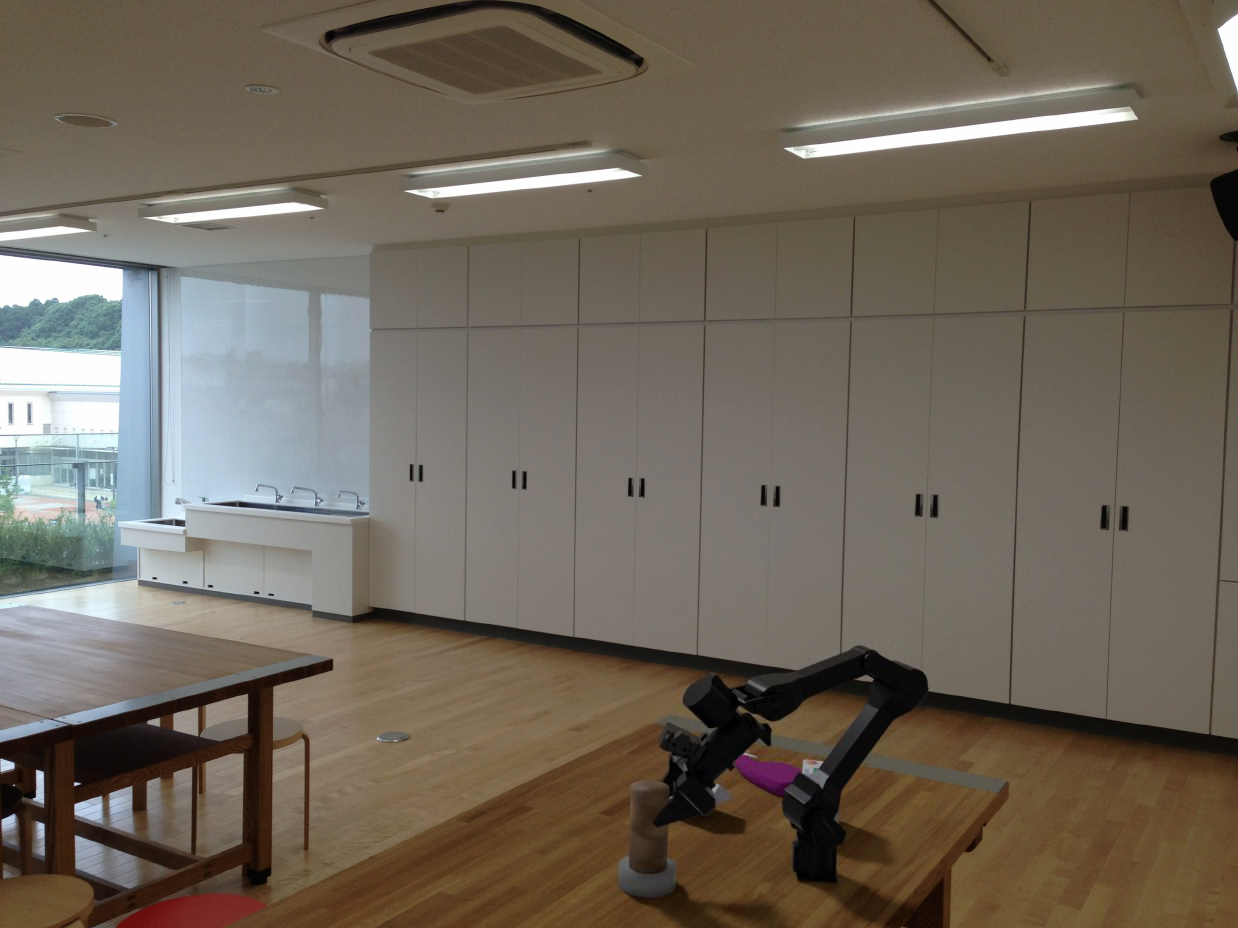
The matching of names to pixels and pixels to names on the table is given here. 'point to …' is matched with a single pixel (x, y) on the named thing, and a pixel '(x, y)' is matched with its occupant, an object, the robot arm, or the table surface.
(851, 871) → the table surface
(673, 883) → the slate pedestal
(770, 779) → the spray bottle
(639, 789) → the walnut cylinder
